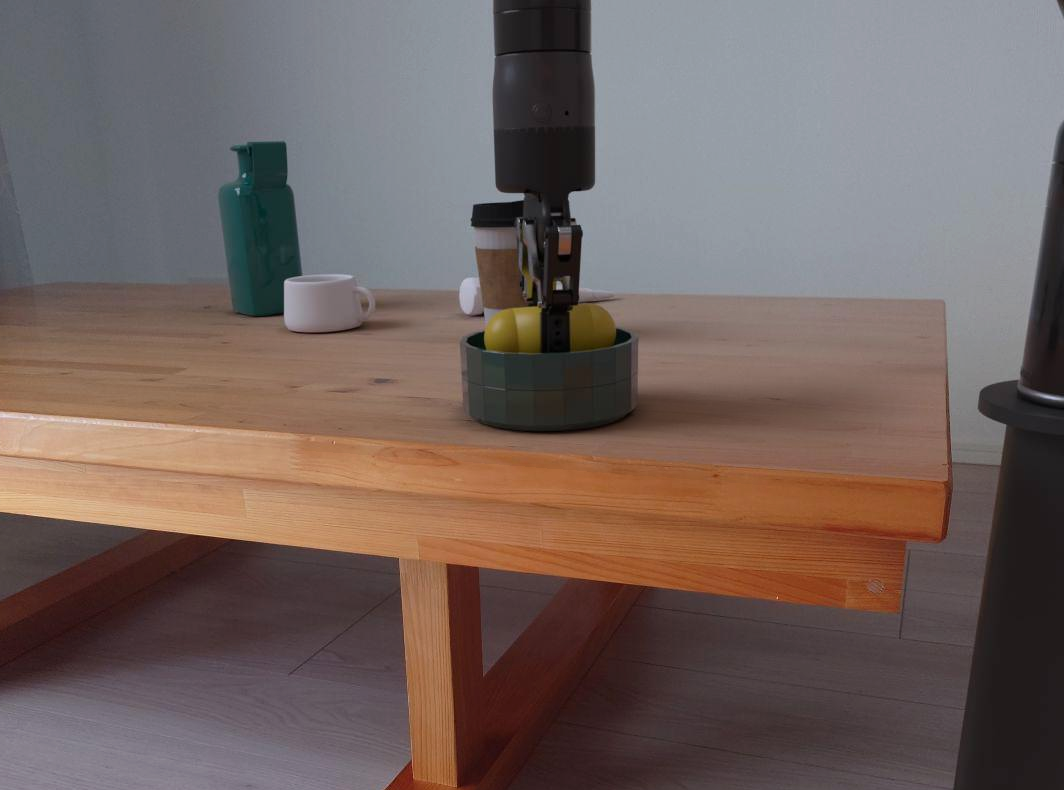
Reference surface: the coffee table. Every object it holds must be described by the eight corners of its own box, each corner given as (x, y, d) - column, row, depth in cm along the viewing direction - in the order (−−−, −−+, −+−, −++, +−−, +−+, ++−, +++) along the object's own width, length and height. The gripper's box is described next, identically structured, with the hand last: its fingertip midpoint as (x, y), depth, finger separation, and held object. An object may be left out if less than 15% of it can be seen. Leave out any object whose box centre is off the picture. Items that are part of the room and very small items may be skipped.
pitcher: (228, 312, 141) (205, 143, 133) (282, 305, 146) (264, 142, 139) (259, 318, 134) (238, 141, 126) (316, 311, 139) (298, 140, 131)
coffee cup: (527, 346, 110) (522, 201, 104) (461, 341, 113) (454, 201, 108) (562, 333, 116) (560, 196, 111) (499, 329, 120) (494, 197, 115)
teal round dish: (653, 396, 86) (654, 325, 84) (611, 439, 74) (611, 357, 71) (500, 388, 90) (498, 321, 88) (436, 427, 78) (431, 350, 76)
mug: (270, 333, 123) (264, 282, 121) (308, 320, 132) (303, 273, 129) (360, 335, 120) (355, 283, 117) (393, 322, 128) (389, 273, 126)
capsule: (615, 370, 82) (604, 324, 84) (626, 337, 78) (614, 289, 80) (486, 381, 80) (478, 333, 82) (490, 347, 76) (482, 297, 78)
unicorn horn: (630, 301, 139) (631, 265, 137) (472, 318, 129) (470, 280, 128) (613, 297, 143) (613, 262, 141) (458, 314, 133) (456, 276, 132)
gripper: (619, 119, 68) (617, 369, 74) (572, 125, 81) (574, 337, 88) (510, 121, 67) (517, 375, 73) (480, 127, 80) (488, 342, 86)
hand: (548, 353), depth 80 cm, fingers closed on capsule, 4 cm apart
